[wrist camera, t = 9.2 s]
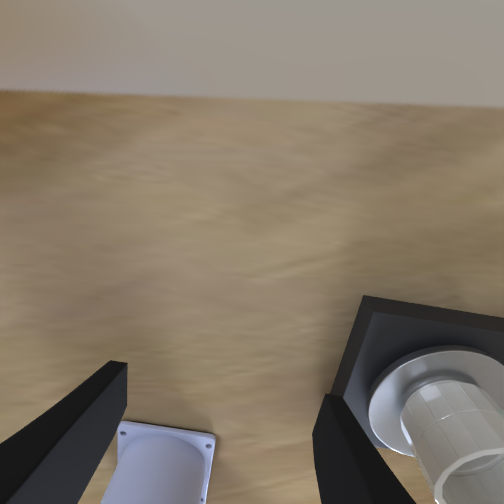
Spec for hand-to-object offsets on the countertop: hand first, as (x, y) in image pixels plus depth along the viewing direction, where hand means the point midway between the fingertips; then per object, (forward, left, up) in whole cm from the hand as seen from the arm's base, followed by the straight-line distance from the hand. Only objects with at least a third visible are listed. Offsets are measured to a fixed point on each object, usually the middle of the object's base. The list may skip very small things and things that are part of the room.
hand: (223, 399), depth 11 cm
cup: (-5, -14, -6) cm, 16 cm away
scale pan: (-5, -14, -7) cm, 16 cm away
